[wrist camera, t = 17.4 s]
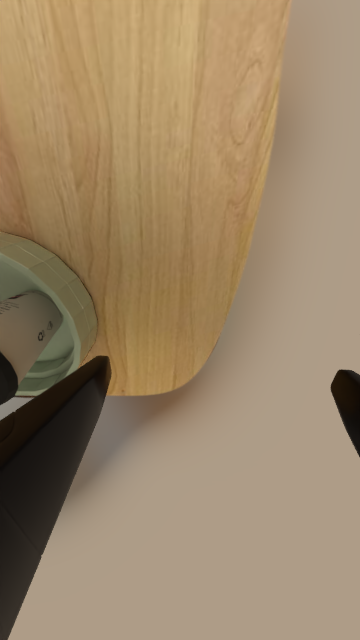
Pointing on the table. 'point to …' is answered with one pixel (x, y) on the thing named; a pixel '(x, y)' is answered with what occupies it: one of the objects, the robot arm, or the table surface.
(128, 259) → the table surface
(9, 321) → the coffee cup
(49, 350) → the sage green pet bowl
